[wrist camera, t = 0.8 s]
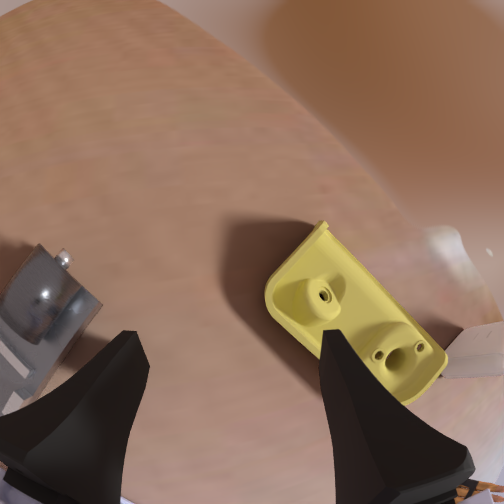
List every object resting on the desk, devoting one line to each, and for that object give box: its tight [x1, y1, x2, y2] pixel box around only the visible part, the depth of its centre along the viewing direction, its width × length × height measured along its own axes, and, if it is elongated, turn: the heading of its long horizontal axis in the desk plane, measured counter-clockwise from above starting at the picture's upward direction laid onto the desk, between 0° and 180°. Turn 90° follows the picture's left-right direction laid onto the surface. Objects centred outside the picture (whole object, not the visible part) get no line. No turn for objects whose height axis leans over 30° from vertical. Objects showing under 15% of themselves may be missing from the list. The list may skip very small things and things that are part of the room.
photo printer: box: [441, 321, 504, 379], centre depth 30 cm, size 10×4×12 cm, turn 113°
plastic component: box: [264, 221, 448, 406], centre depth 28 cm, size 20×7×10 cm
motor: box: [0, 243, 103, 417], centre depth 16 cm, size 15×7×7 cm, turn 146°
